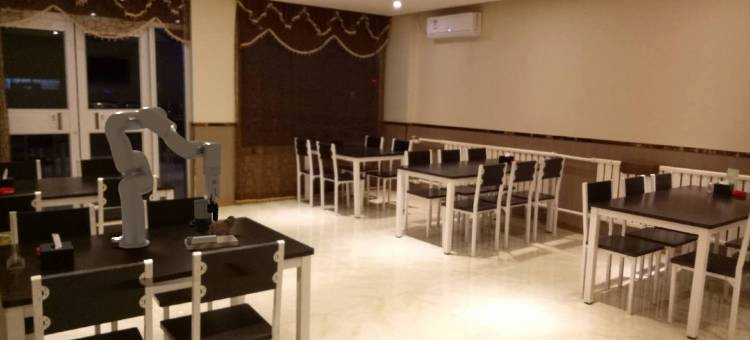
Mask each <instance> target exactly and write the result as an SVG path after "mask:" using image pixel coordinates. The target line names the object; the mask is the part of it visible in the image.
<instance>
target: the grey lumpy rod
mask: <svg viewBox="0 0 750 340" xmlns="http://www.w3.org/2000/svg"><path fill="white" fill-rule="evenodd" d="M186 239H187V244H199V243H209V242H217V236H216V235H214V234H213V235H212V234H211V236H209V235H208V236H207V235H202V236H187V237H186Z"/></svg>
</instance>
